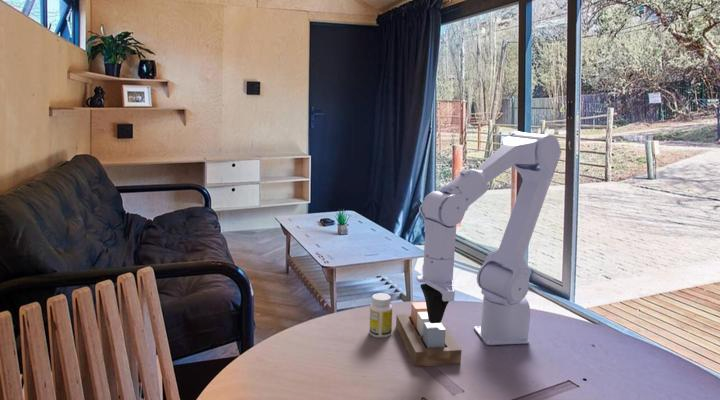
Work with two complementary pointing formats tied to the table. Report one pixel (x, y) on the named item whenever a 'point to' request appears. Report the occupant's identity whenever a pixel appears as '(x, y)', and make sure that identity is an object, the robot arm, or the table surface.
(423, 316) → the white key
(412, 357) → the key block
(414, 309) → the red key
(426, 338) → the blue key
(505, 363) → the table surface
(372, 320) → the supplement bottle
